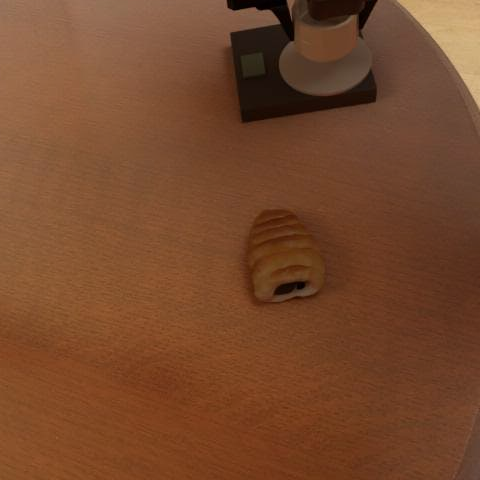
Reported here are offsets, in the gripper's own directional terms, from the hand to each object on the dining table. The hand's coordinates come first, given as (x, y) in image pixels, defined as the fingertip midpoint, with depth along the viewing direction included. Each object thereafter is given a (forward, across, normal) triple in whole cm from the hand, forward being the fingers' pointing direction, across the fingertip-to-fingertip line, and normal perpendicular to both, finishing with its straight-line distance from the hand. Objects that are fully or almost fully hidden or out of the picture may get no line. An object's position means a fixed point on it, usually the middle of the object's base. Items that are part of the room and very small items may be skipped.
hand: (325, 33), depth 76 cm
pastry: (+6, -8, -23) cm, 25 cm away
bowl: (+1, 0, 0) cm, 1 cm away
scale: (+6, -2, +1) cm, 7 cm away
